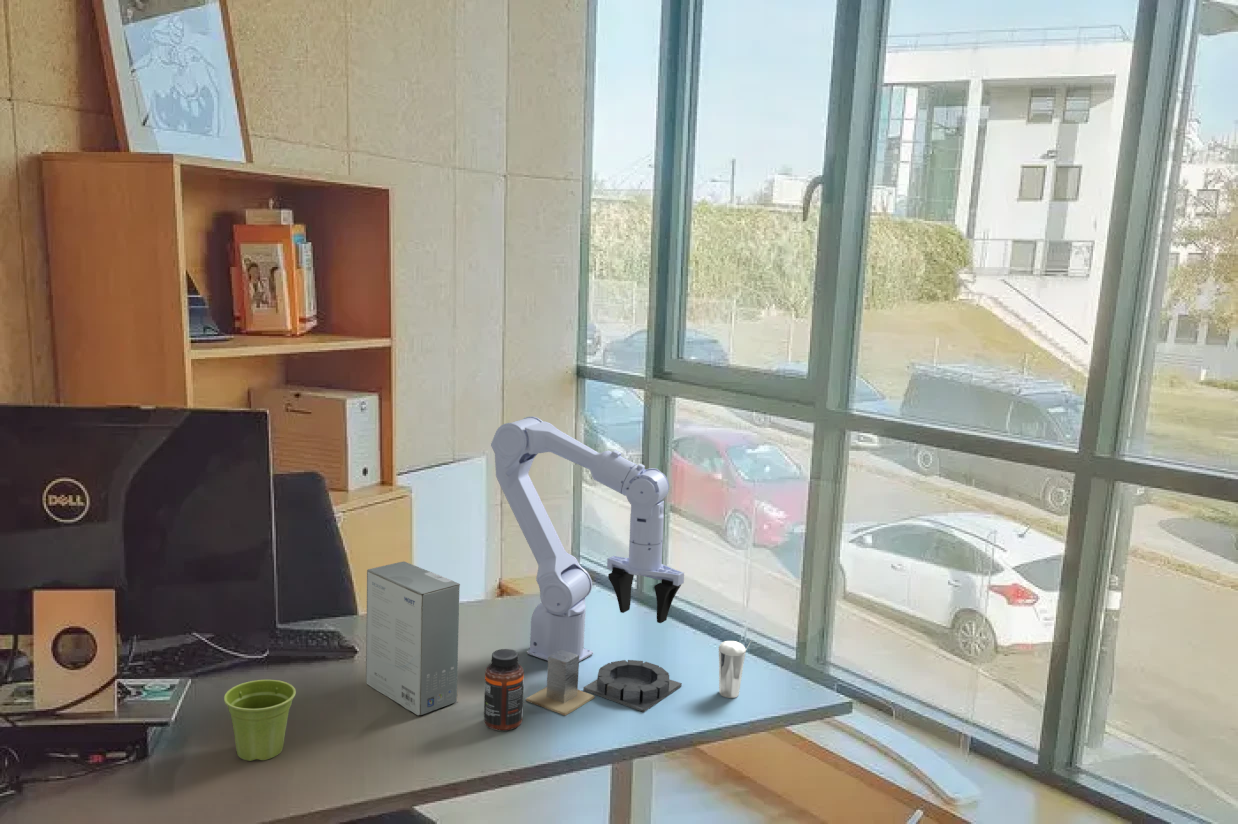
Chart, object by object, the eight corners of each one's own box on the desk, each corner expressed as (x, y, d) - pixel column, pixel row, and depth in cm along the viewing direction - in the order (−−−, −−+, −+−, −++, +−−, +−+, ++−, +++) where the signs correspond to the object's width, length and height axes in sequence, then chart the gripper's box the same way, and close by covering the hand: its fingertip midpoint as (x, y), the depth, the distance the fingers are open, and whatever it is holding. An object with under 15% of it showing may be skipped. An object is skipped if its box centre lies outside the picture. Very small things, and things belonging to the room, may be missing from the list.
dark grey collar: (583, 690, 160) (584, 676, 159) (622, 667, 169) (623, 654, 169) (643, 712, 153) (644, 698, 153) (681, 686, 163) (682, 673, 162)
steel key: (546, 696, 156) (548, 656, 154) (559, 689, 159) (561, 649, 157) (564, 703, 154) (565, 662, 153) (577, 695, 157) (579, 655, 155)
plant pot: (265, 728, 142) (264, 673, 140) (309, 747, 137) (309, 690, 136) (210, 754, 134) (209, 696, 132) (255, 775, 129) (255, 715, 128)
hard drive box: (458, 703, 153) (462, 584, 150) (419, 718, 147) (421, 594, 144) (402, 671, 163) (404, 559, 160) (363, 684, 158) (364, 568, 154)
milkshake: (746, 702, 158) (750, 645, 157) (714, 698, 159) (718, 641, 158) (748, 690, 163) (752, 635, 161) (716, 686, 164) (720, 631, 162)
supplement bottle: (528, 718, 149) (531, 650, 147) (512, 735, 143) (514, 664, 142) (494, 710, 151) (496, 643, 149) (476, 727, 145) (478, 657, 143)
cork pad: (525, 700, 155) (525, 698, 155) (556, 683, 161) (556, 681, 161) (565, 715, 150) (565, 713, 150) (594, 697, 157) (594, 695, 157)
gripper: (598, 537, 164) (595, 613, 167) (670, 554, 157) (666, 632, 159) (620, 529, 170) (618, 601, 172) (691, 544, 162) (688, 620, 164)
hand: (643, 616), depth 166 cm, fingers open, 7 cm apart
